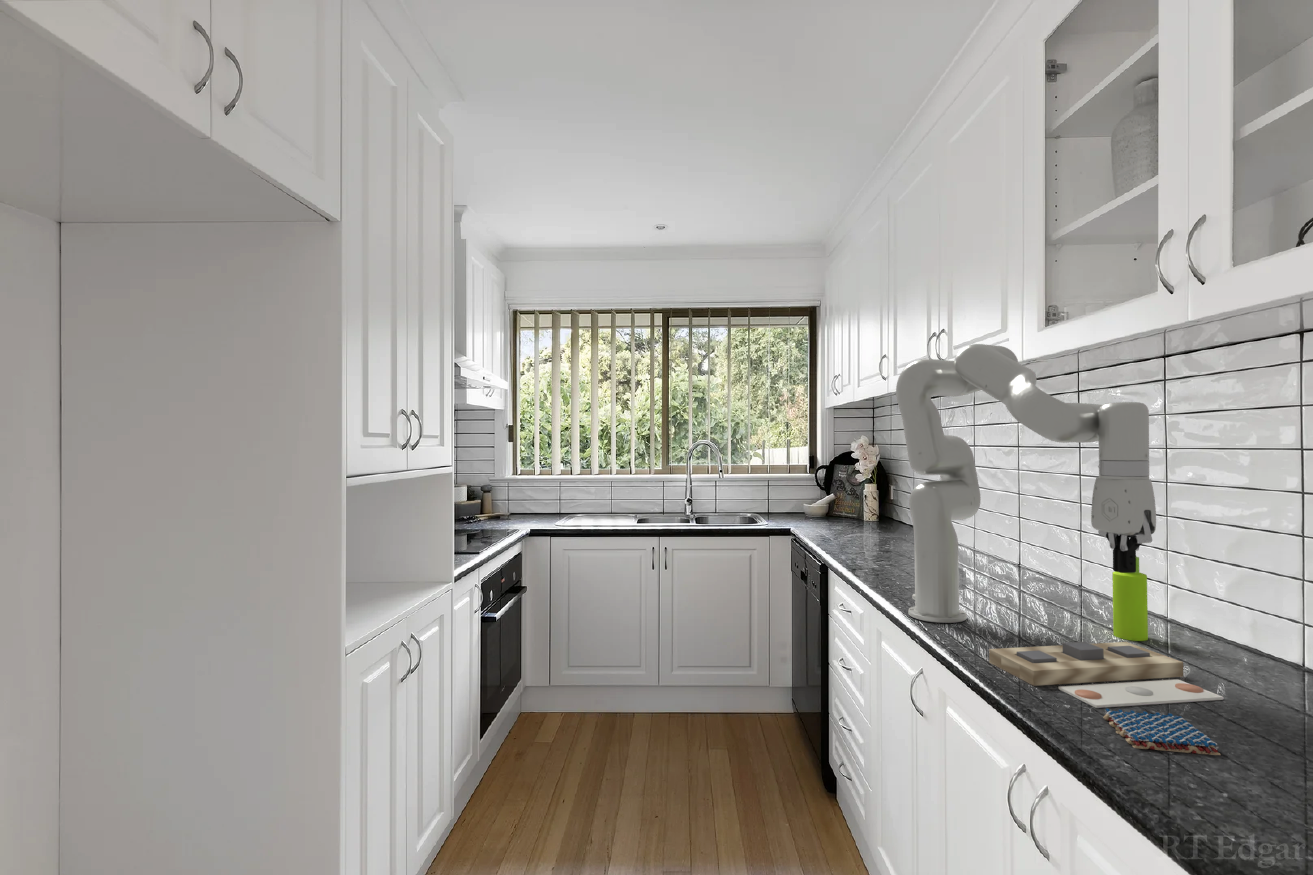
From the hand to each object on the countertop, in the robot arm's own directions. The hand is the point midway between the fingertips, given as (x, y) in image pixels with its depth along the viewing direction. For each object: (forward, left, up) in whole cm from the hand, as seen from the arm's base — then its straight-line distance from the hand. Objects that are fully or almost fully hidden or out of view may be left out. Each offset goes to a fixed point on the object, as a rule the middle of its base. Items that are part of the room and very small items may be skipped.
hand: (1124, 571), depth 122 cm
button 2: (0, -9, -15) cm, 18 cm away
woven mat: (+26, -19, -18) cm, 37 cm away
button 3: (0, 0, -17) cm, 17 cm away
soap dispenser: (-16, +15, -17) cm, 28 cm away
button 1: (0, -18, -16) cm, 24 cm away
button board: (0, -9, -17) cm, 19 cm away
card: (+12, -9, -17) cm, 23 cm away
